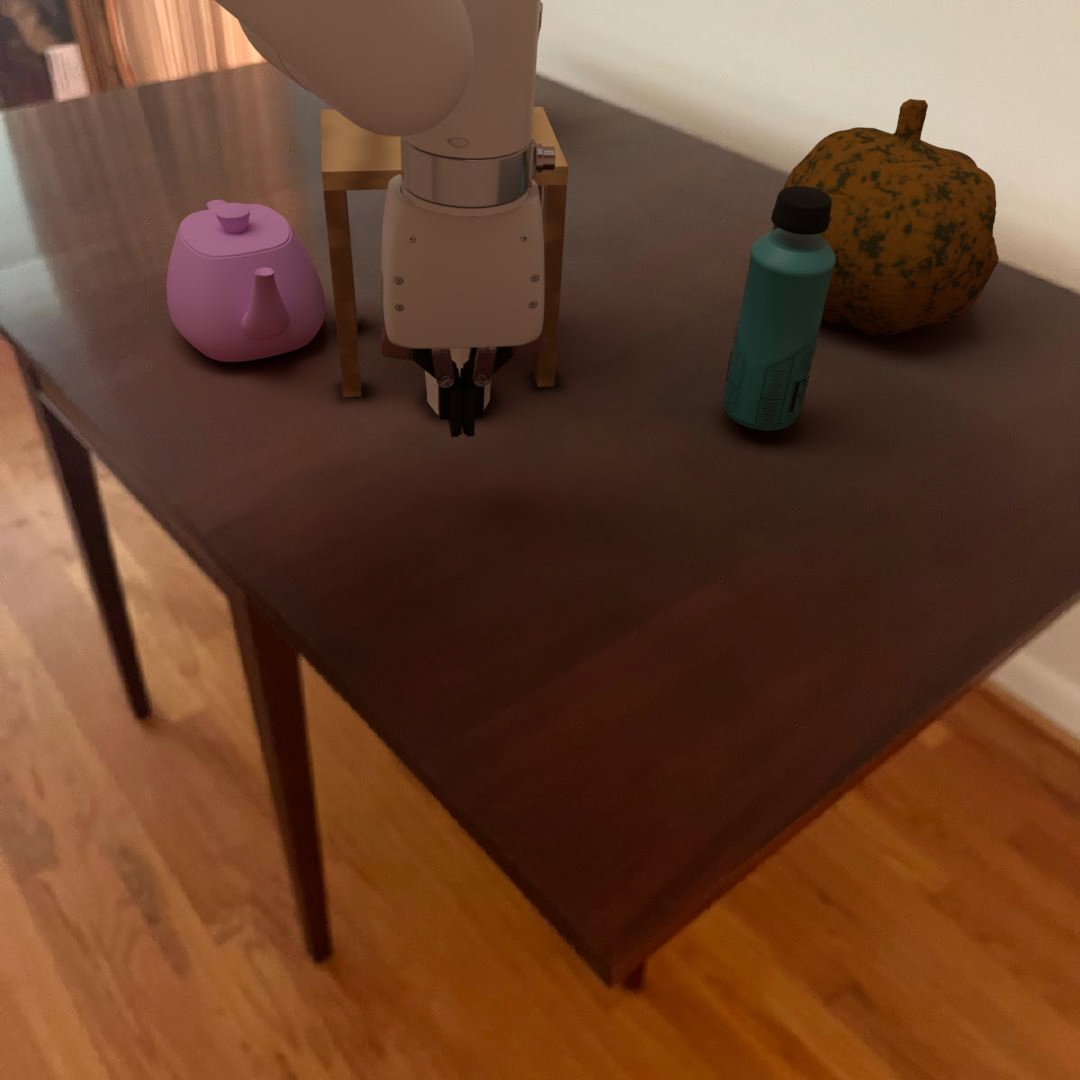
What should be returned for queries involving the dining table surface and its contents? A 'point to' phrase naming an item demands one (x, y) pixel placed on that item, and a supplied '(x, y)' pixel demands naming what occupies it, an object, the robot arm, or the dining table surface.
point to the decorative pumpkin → (901, 225)
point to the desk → (370, 166)
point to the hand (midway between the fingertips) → (460, 424)
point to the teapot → (242, 283)
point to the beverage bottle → (781, 313)
